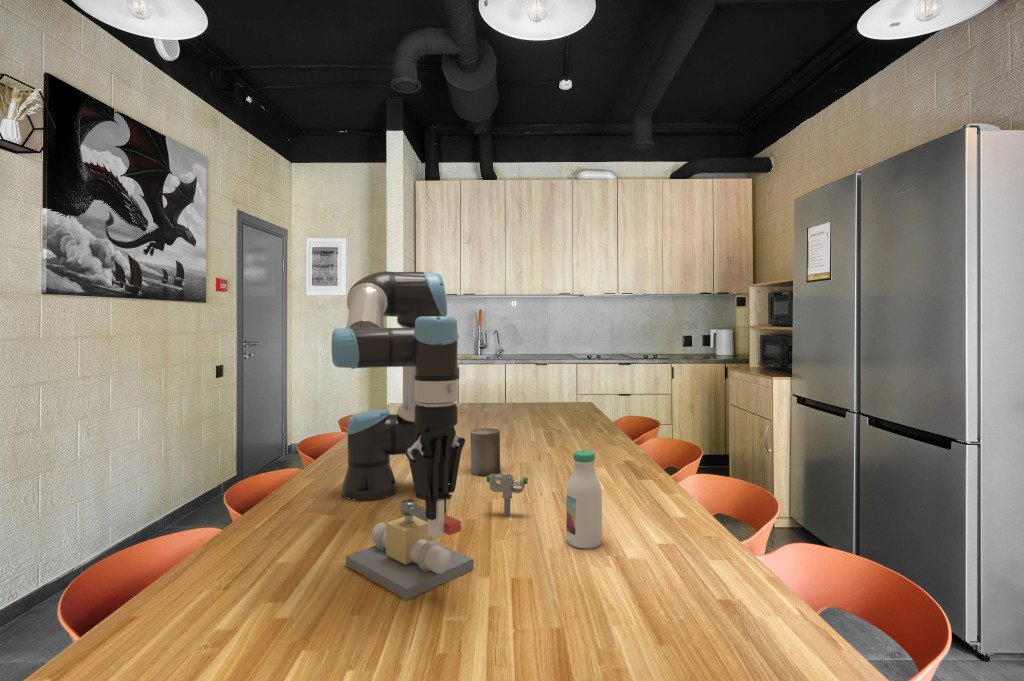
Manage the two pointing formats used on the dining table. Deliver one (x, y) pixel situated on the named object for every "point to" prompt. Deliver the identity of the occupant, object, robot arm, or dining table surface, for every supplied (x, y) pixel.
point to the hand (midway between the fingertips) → (436, 535)
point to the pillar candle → (485, 451)
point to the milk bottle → (584, 503)
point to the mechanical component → (506, 487)
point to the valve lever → (413, 509)
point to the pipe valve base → (408, 558)
